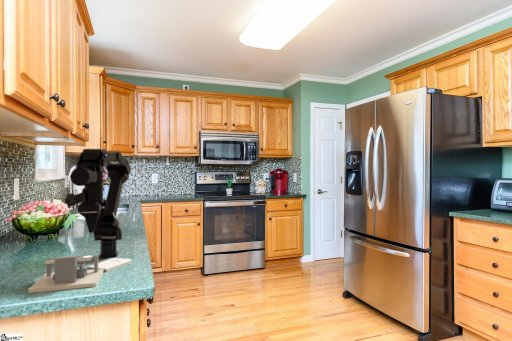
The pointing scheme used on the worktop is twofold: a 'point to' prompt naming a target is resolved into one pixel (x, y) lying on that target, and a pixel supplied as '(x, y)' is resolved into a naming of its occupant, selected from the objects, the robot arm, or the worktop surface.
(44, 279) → the board
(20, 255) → the worktop surface
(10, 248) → the worktop surface
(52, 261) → the brushed grey panel
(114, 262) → the external hard drive
